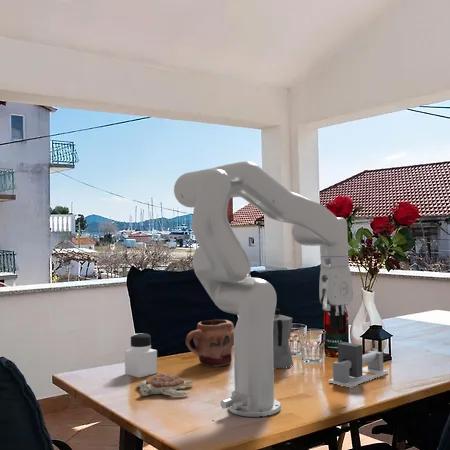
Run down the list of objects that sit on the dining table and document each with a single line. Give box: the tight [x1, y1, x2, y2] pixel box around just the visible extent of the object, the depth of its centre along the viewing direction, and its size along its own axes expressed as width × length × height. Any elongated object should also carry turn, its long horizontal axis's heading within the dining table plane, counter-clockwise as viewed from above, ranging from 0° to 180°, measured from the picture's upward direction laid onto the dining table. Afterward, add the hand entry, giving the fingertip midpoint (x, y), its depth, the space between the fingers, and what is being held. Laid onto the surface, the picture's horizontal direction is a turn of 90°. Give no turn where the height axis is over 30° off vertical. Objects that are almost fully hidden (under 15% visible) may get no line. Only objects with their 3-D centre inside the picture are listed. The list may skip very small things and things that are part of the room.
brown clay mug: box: [185, 319, 235, 367], centre depth 173 cm, size 20×12×14 cm, turn 134°
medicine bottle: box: [124, 332, 158, 379], centre depth 164 cm, size 7×7×12 cm
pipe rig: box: [328, 350, 389, 388], centre depth 155 cm, size 20×7×6 cm, turn 134°
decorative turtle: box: [136, 373, 195, 398], centre depth 146 cm, size 18×17×5 cm
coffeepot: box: [273, 308, 294, 370], centre depth 170 cm, size 15×9×18 cm, turn 179°
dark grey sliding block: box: [337, 341, 363, 378], centre depth 152 cm, size 3×6×9 cm, turn 44°
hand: (336, 329), depth 147 cm, fingers closed
